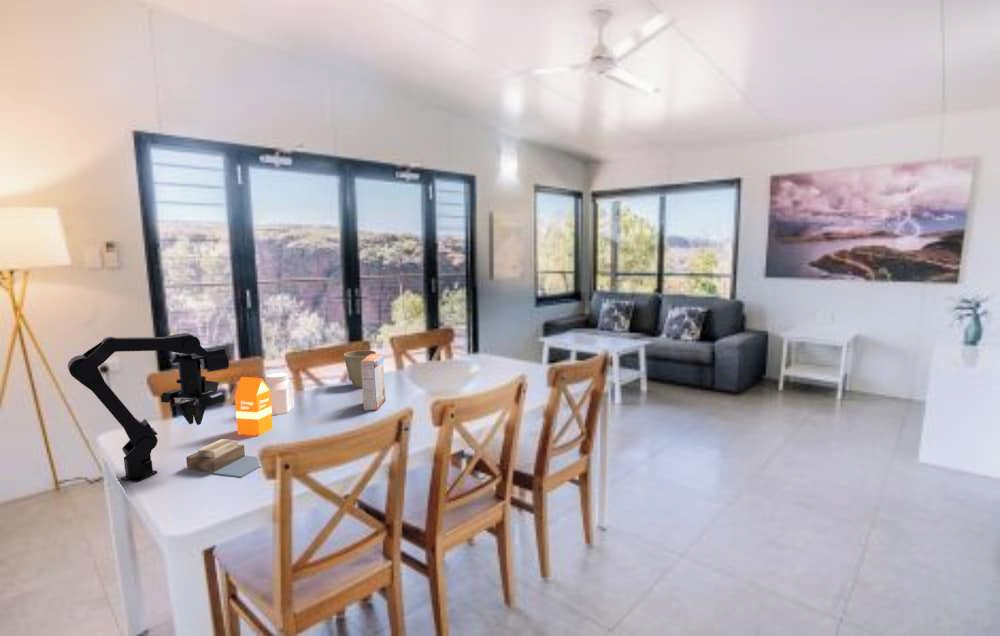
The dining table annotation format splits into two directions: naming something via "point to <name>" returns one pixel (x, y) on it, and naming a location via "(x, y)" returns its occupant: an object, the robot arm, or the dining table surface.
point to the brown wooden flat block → (214, 460)
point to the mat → (240, 467)
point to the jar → (280, 393)
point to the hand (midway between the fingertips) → (195, 424)
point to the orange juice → (253, 406)
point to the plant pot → (356, 365)
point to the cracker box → (373, 381)
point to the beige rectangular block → (217, 448)
